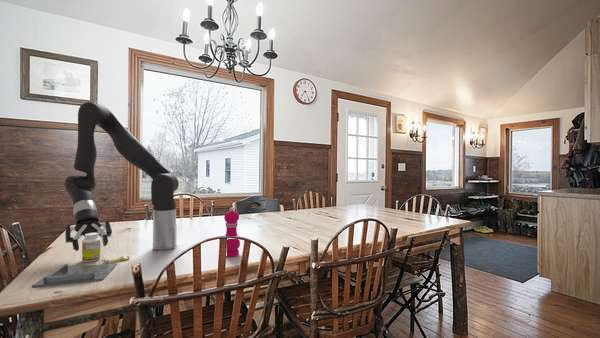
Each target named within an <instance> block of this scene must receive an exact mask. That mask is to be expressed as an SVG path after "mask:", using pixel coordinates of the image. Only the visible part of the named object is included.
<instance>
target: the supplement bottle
mask: <svg viewBox="0 0 600 338" xmlns="http://www.w3.org/2000/svg"><path fill="white" fill-rule="evenodd" d="M81 243H82V244H81V245H82V246H81V249H82V250H81V251H82V252H81V253H82V254H81V255H82V256H81V259H82V262H84V263H92V262H96V261H98V260H100V259H101V238H100V236H98V233H88V234H85V236H84V239H83V240H82V242H81Z"/></svg>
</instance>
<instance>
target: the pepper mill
mask: <svg viewBox="0 0 600 338" xmlns="http://www.w3.org/2000/svg"><path fill="white" fill-rule="evenodd" d="M223 219H224V221H225V227H226V233H225V236H238V232H237V231H238V230H237V229H238V228H237V227H238V221H239V220H240V214H239V212H238V211H235V207H232V206H231V207H229V210H228V211H227V212H226V213H224V217H223ZM225 236H224V237H225ZM238 237H239V236H238ZM240 246H241V241H240V239H239V240H238V239H228V240H227V257H226V258H234V257H238V256H239V254H240V250H239V248H240Z"/></svg>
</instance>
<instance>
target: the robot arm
mask: <svg viewBox="0 0 600 338" xmlns="http://www.w3.org/2000/svg"><path fill="white" fill-rule="evenodd" d="M97 126H99V127H100V128H101V129H102V130H103V131H105V132H106V134H108V135H109V137H110V139H111V140H112V143H113V145H114V147H115V149H116V151H117V152H118V153H119V154H120V155H121V156H122V157H123V158H124V159H125V160H126V161H127V162H128V163H130V164H131V165H132V166H134V167H135V168H138V169H139V170H141V171H142V172H144V173H145V174H147V175H148V177H150V178H151V179H152V180H151V185H150V191H151V192H150V194H151V195H150V196H151V204H152V207H153V208H152V212H153V213H152V216H153V217H152V250H155V251H166V250H171V249H176V247H177V242H178V241H177V238H178V237H177V236H178V234H177V231H178V230H177V229H178V228H177V203H176V201H175V198H174V197H175V196H174V195H175V194H174V192H175V191H177V190H178V189H179V184H180V183H179V179H178V178H177V177H176V176H175V174H173V173H172V172H171V171H170V170H169V169H167V168H166V167H165V166H163V165H162V164H161V163H160V162H159V160H157V158H155V156H154V155H153V154H152V153H151V152H150V151H149V150H148V149H147V148H146V146H144V145H143V143H142V142H140V141H139V139H137V137H135V136H134V134H132V133H131V132H130V131H129V129H127V128H126V127H125V126H124V125H123V124H122V123H121V122H120V121H119V119H118V118H117V116H115V114H114V113H113V112H112V111H111V110H110V109H109V108H108V107H107V106H105V105H103V104H99V103H96V102H89V101H87V102H84V103H82V104H80V106H79V107H78V112H77V148H76V152H75V158H74V163H73V168H74V170H76V171H79V172H82V173H85V174H86V175H69V176H67V177H66V178H65V180H64V183H63V184H64V188H65V191H66V192H67V193H68V195H69V197H70V198H71V200H72V204H73V205H72V206H73V218H74V224H75V226H70V225H66V226H65V231H64V232H65V235H64V236H65V243H67V244H68V243H71V244H72V250H74V251H75V252H77V251H78V252H79V250H80V246H79V239H81V237H82V236H83V237H85V234H88V233H98V237H99V238H100V237H101V240H102V244H103V247H107V245H108V243H109V240H108V237H111V236H112V233H113V230H112V227H111V224H110V222H109V221H108V220H107V221H105V222H102V223H101V222H100V219H99V214H98V209H97V205H96V203H95V202H96V201H95V198H94V194H93V193H92V191H94V190H95V189H96V183H97V182H96V176H95V165H96V161H97V154H98V151H97V147H96V143H95V129H96V127H97ZM101 227H102V228H103V229H105V231H104V230H103V229H102V228H101ZM73 231H74V232H76V233H75V235H74V236H73V237H72V236H71V234H72V233H73Z"/></svg>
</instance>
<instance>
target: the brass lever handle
mask: <svg viewBox="0 0 600 338" xmlns="http://www.w3.org/2000/svg"><path fill="white" fill-rule="evenodd" d="M129 260H130V256H129V255H125V256H121V257H119V258H118V257H117V258H114V259H110V260H107V261H108V264H111V263H118V262H126V261H129Z"/></svg>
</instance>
